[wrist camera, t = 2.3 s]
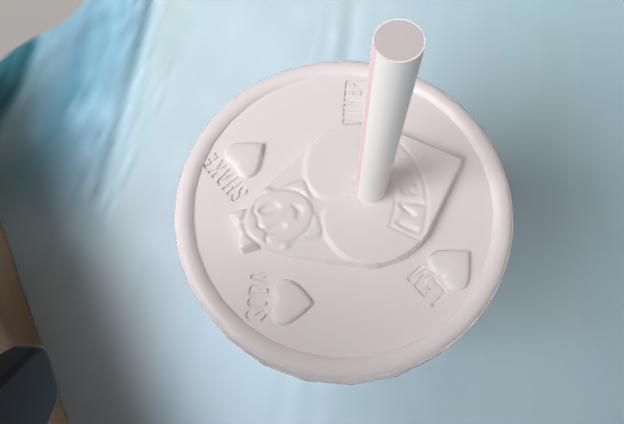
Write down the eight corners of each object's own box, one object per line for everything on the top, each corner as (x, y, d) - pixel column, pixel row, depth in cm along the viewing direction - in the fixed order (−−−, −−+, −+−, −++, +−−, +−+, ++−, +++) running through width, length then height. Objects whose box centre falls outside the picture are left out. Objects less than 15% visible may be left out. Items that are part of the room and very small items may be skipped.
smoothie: (453, 351, 18) (818, 245, 4) (277, 411, 17) (95, 494, 4) (388, 190, 20) (502, -214, 6) (230, 239, 19) (6, -83, 6)
